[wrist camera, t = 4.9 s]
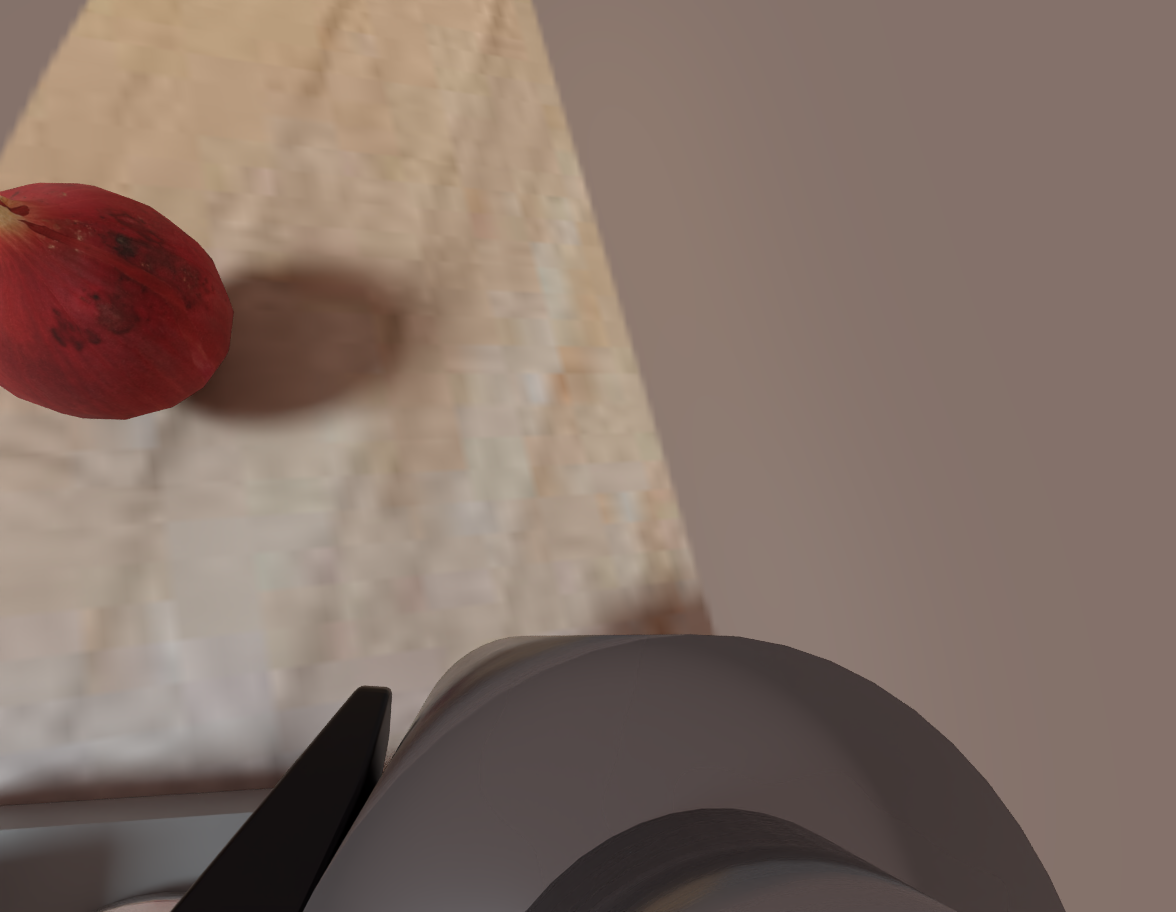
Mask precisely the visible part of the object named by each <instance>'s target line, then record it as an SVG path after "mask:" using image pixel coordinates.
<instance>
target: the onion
mask: <svg viewBox="0 0 1176 912" xmlns="http://www.w3.org/2000/svg"><path fill="white" fill-rule="evenodd" d="M233 314H234V311H233V308H232V306H231V303H230V300H229V298H228V295H227V293H226V290H225V288H224V286H223V283H222V281H221V278H220V276H219V274H218V271H217V269H216V267H215V264H214V262H213V260H212V258H211V257H210V256H209V255H208V254H207V253H206V252H205V250H204V249H203V248H202V247H201V246H200V245H199V243H198V242H196V241H195V240H194V239H193V238H191V237H190V236H189V235H188V234H186V233H185V232H184V231H182V230H181V229H180V228H179V227H177V226H176V225H175V224H174V223H172V222H171V221H170V220H169V219H167V218H166V217H165V216H163V215H162V214H160V213H159V212H157V211H156V210H154V209H153V208H152V207H150V206H148V205H145V204H143V203H140V202H138V201H135V200H133V199H130V198H127V197H124V196H121V195H119V194H116V193H113V192H110V191H107V190H104V189H102V188H99V187H96V186H91V185H84V184H74V183H35V184H29V185H25V186H21V187H17V188H13V189H9V190H5V191H1V192H0V386H2V387H3V388H5V389H6V390H8V391H9V392H10V393H12V394H13V395H15V396H16V397H18V398H21V399H24V400H26V401H29V402H32V403H35V404H37V405H40V406H43V407H46V408H49V409H51V410H54V411H57V412H60V413H62V414H67V415H71V416H76V417H80V418H90V419H120V420H126V419H130V418H133V417H137V416H140V415H144V414H148V413H152V412H156V411H160V410H163V409H167V408H171V407H174V406H175V405H177V404H178V403H180V402H181V401H183V400H184V399H186V398H188V397H189V396H191V395H192V394H194V393H195V392H197V391H198V390H200V389H202V388H203V387H204V386H205V385H206V383H207V382H208V381H209V379H210V378H211V377H212V375H213V374H214V372H215V371H216V370H217V368H218V367H219V366H220V364H221V363H222V362H223V360H224V359H225V357H226V355H227V353H228V351H229V346H230V338H231V330H232V322H233Z"/></svg>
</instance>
